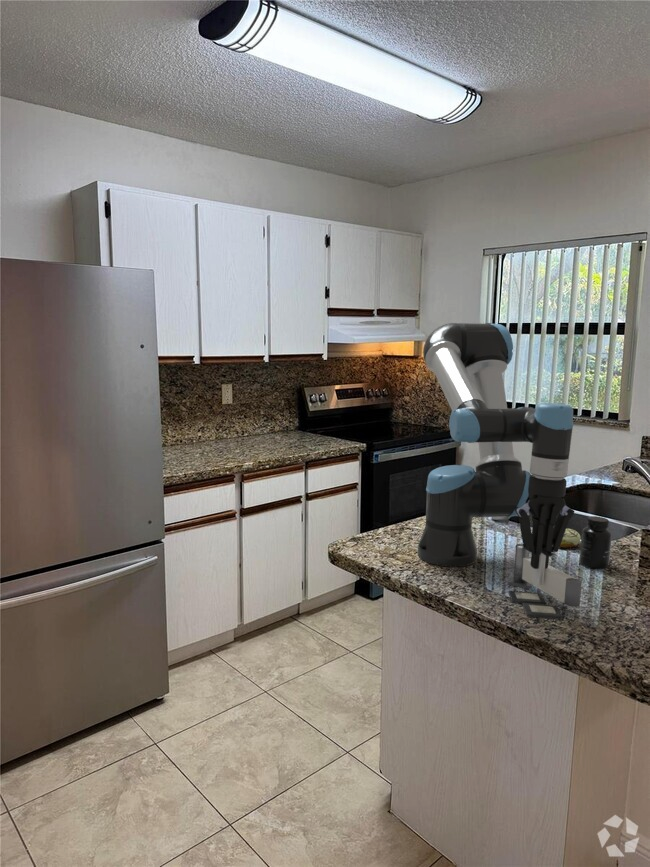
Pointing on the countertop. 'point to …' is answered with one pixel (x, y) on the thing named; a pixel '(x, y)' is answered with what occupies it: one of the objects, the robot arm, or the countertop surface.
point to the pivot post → (519, 568)
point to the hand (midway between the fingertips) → (537, 582)
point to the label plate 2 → (542, 611)
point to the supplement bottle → (596, 543)
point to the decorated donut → (570, 538)
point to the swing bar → (555, 584)
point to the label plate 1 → (527, 597)
